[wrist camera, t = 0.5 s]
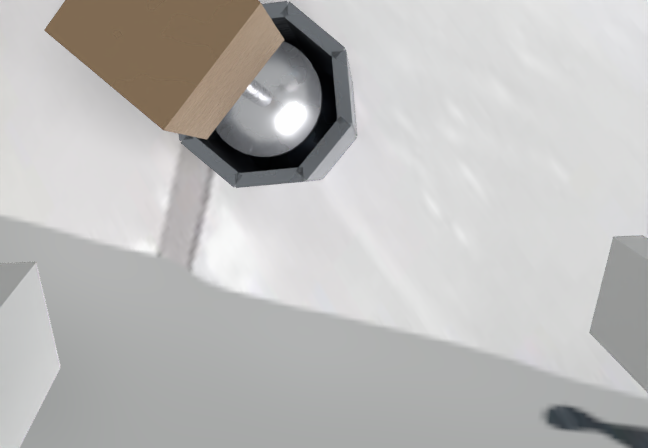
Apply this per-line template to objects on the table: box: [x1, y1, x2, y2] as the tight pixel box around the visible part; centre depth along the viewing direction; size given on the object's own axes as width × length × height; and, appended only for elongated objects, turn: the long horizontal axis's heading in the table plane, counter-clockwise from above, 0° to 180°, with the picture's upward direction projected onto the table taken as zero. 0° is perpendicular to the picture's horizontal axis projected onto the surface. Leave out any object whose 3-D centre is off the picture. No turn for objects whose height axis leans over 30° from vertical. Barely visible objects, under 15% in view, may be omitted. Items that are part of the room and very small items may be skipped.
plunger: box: [45, 0, 323, 157], centre depth 23 cm, size 7×7×16 cm
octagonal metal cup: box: [179, 1, 357, 188], centre depth 35 cm, size 10×10×10 cm
